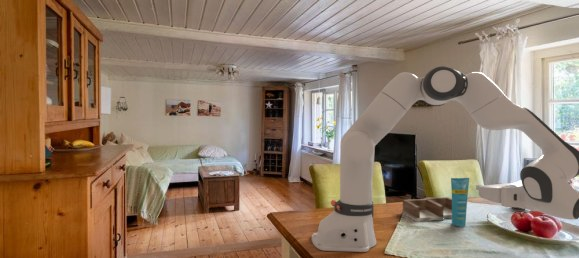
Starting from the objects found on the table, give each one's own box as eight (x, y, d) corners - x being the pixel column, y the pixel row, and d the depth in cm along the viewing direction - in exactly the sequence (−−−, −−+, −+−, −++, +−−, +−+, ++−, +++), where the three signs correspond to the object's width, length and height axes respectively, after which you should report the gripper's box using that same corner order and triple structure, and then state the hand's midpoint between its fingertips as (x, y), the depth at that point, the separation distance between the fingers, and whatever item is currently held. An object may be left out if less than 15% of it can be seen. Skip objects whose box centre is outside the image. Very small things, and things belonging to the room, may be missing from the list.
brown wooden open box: (416, 221, 134) (416, 207, 133) (402, 212, 146) (402, 199, 145) (443, 220, 135) (443, 206, 135) (427, 211, 147) (427, 198, 147)
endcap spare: (438, 218, 137) (438, 205, 137) (423, 210, 149) (423, 197, 149) (464, 217, 139) (464, 204, 138) (447, 209, 150) (447, 197, 150)
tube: (454, 227, 127) (455, 179, 126) (446, 223, 132) (447, 176, 131) (471, 226, 128) (472, 178, 127) (463, 222, 133) (464, 176, 132)
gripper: (548, 182, 107) (509, 175, 120) (501, 187, 101) (465, 179, 114) (548, 201, 107) (509, 192, 120) (501, 207, 101) (465, 197, 114)
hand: (487, 186), depth 117 cm, fingers open, 8 cm apart
